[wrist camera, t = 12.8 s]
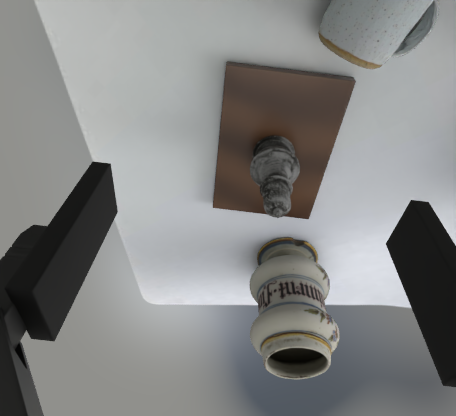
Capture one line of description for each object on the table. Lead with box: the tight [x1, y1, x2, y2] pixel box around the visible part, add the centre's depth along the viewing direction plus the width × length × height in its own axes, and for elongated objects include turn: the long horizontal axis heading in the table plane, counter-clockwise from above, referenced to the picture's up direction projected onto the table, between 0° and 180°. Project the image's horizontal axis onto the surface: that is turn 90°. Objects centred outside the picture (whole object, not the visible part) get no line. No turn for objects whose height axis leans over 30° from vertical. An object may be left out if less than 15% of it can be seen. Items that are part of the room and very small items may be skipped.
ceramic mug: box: [319, 0, 439, 69], centre depth 30 cm, size 11×8×8 cm
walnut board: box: [213, 62, 356, 219], centre depth 43 cm, size 20×14×1 cm
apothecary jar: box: [250, 238, 339, 379], centre depth 49 cm, size 12×12×18 cm
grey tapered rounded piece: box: [250, 136, 300, 218], centre depth 38 cm, size 6×6×12 cm
